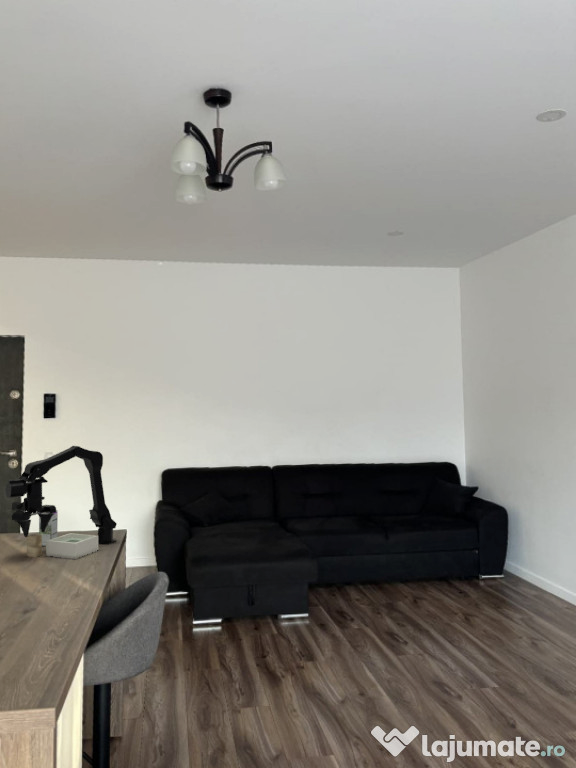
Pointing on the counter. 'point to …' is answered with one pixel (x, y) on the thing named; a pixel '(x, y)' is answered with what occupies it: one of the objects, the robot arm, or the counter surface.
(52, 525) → the syrup box
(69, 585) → the counter surface
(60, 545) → the open box
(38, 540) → the maple peg
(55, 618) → the counter surface
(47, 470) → the robot arm
